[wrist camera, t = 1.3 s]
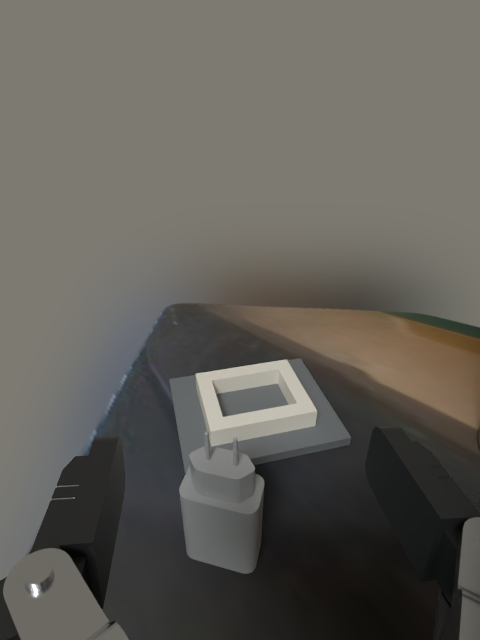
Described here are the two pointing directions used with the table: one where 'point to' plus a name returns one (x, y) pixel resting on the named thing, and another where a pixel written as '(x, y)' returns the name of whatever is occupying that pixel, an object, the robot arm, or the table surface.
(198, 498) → the power adapter
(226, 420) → the docking plate
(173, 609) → the table surface
